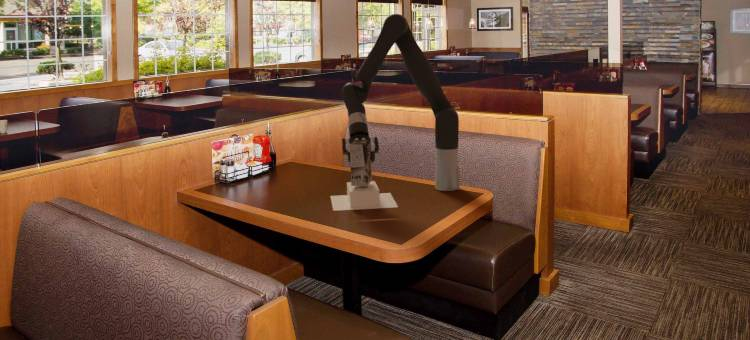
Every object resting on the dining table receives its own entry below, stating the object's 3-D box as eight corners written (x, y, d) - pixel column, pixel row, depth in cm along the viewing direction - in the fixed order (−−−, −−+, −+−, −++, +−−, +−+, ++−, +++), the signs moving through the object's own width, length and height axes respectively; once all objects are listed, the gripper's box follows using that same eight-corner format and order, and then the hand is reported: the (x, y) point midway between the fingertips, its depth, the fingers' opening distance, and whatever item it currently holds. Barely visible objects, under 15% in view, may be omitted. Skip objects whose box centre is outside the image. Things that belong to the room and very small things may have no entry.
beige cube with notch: (375, 195, 242) (374, 180, 241) (379, 205, 229) (379, 190, 227) (347, 197, 241) (346, 182, 240) (350, 207, 228) (349, 191, 226)
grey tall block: (367, 186, 228) (366, 144, 225) (350, 186, 230) (348, 143, 226) (372, 180, 237) (371, 139, 233) (356, 180, 238) (354, 139, 235)
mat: (390, 194, 246) (390, 192, 246) (398, 208, 227) (398, 207, 227) (330, 197, 243) (330, 195, 243) (333, 212, 224) (333, 210, 224)
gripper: (340, 121, 236) (343, 157, 228) (377, 120, 238) (381, 155, 230) (339, 133, 243) (342, 168, 234) (375, 131, 244) (379, 166, 236)
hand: (362, 162), depth 232 cm, fingers closed on grey tall block, 7 cm apart
